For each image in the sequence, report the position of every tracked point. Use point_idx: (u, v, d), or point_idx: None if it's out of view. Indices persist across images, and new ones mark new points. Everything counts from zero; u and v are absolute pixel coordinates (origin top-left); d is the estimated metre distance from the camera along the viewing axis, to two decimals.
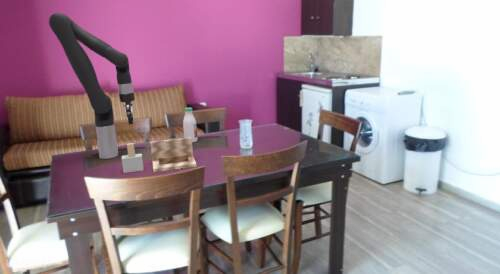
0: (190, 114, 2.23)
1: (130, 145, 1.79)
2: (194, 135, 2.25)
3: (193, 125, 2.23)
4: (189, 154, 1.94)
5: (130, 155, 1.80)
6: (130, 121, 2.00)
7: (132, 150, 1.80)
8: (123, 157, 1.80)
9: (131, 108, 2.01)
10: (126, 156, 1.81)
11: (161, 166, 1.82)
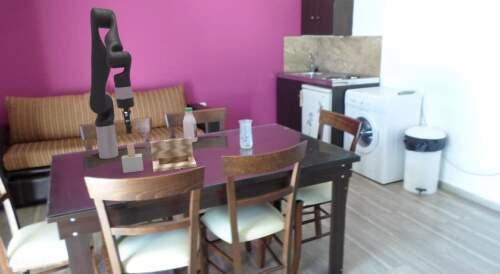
0: (190, 114, 2.23)
1: (130, 145, 1.79)
2: (194, 135, 2.25)
3: (193, 125, 2.23)
4: (189, 154, 1.94)
5: (130, 155, 1.80)
6: None
7: (132, 150, 1.80)
8: (123, 157, 1.80)
9: (130, 115, 1.74)
10: (126, 156, 1.81)
11: (161, 166, 1.82)
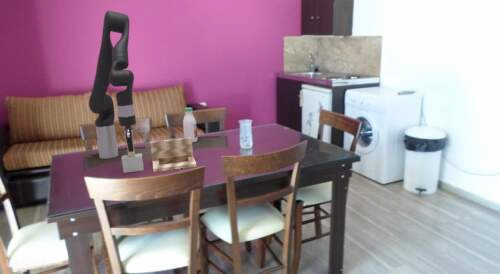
0: (190, 114, 2.23)
1: None
2: (194, 135, 2.25)
3: (193, 125, 2.23)
4: (189, 154, 1.94)
5: (130, 155, 1.80)
6: None
7: None
8: (123, 157, 1.80)
9: (132, 134, 1.77)
10: (126, 156, 1.81)
11: (161, 166, 1.82)
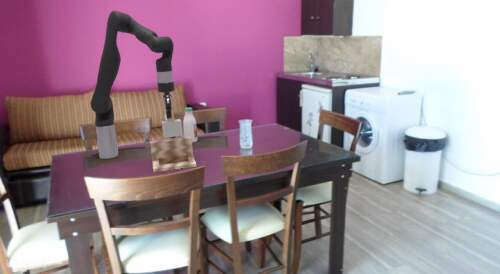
0: (190, 114, 2.23)
1: None
2: (194, 135, 2.25)
3: (193, 125, 2.23)
4: (189, 154, 1.94)
5: (170, 120, 1.83)
6: (169, 115, 1.82)
7: (172, 115, 1.83)
8: (163, 122, 1.83)
9: (170, 100, 1.80)
10: (166, 121, 1.84)
11: (161, 166, 1.82)
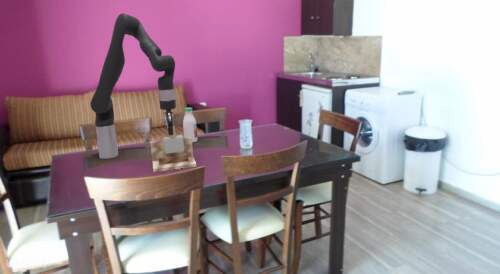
0: (190, 114, 2.23)
1: None
2: (194, 135, 2.25)
3: (193, 125, 2.23)
4: (189, 154, 1.94)
5: (171, 136, 1.86)
6: None
7: (173, 131, 1.86)
8: (165, 138, 1.86)
9: None
10: (167, 137, 1.87)
11: (161, 166, 1.82)
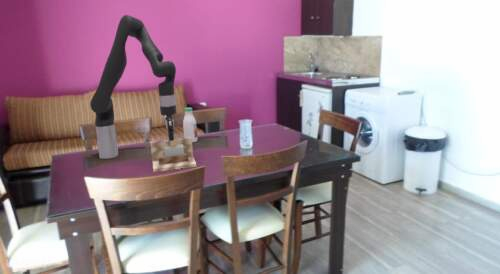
0: (190, 114, 2.23)
1: None
2: (194, 135, 2.25)
3: (193, 125, 2.23)
4: (189, 154, 1.94)
5: (172, 145, 1.87)
6: None
7: (174, 141, 1.87)
8: (166, 147, 1.87)
9: (172, 123, 1.84)
10: (168, 146, 1.88)
11: (161, 166, 1.82)
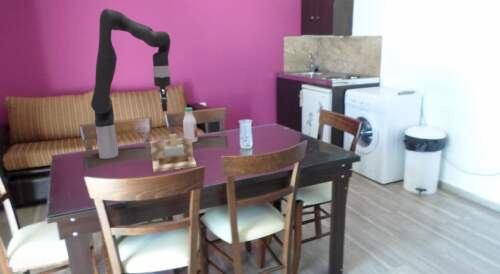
0: (190, 114, 2.23)
1: (172, 136, 1.86)
2: (194, 135, 2.25)
3: (193, 125, 2.23)
4: (189, 154, 1.94)
5: (172, 145, 1.87)
6: (164, 108, 1.81)
7: (174, 141, 1.87)
8: (166, 147, 1.87)
9: (166, 93, 1.81)
10: (168, 146, 1.88)
11: (161, 166, 1.82)
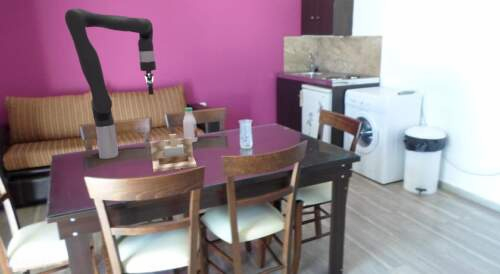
0: (190, 114, 2.23)
1: (172, 136, 1.86)
2: (194, 135, 2.25)
3: (193, 125, 2.23)
4: (189, 154, 1.94)
5: (172, 145, 1.87)
6: None
7: (174, 141, 1.87)
8: (166, 147, 1.87)
9: (152, 78, 1.90)
10: (168, 146, 1.88)
11: (161, 166, 1.82)
